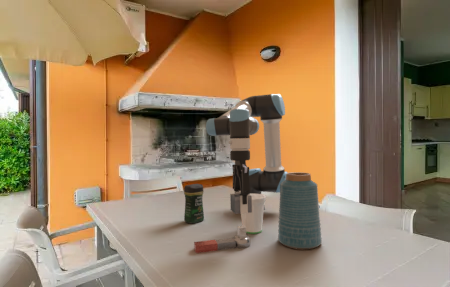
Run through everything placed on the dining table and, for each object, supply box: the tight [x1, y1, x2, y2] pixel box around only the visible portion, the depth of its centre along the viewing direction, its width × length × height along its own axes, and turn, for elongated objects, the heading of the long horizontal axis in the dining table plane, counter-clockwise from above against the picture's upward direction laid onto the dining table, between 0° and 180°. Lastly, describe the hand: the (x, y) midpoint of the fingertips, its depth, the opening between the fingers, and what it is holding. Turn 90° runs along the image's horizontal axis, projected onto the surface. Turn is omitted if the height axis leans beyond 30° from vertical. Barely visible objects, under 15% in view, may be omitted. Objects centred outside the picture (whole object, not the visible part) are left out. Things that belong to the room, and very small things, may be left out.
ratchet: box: [193, 225, 251, 254], centre depth 102 cm, size 21×6×7 cm, turn 104°
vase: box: [277, 171, 323, 251], centre depth 105 cm, size 16×16×27 cm
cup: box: [240, 193, 267, 235], centre depth 120 cm, size 12×12×15 cm
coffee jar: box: [183, 183, 205, 224], centre depth 136 cm, size 10×8×19 cm
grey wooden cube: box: [229, 193, 252, 215], centre depth 103 cm, size 6×6×6 cm
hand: (241, 210), depth 103 cm, fingers closed on grey wooden cube, 6 cm apart
